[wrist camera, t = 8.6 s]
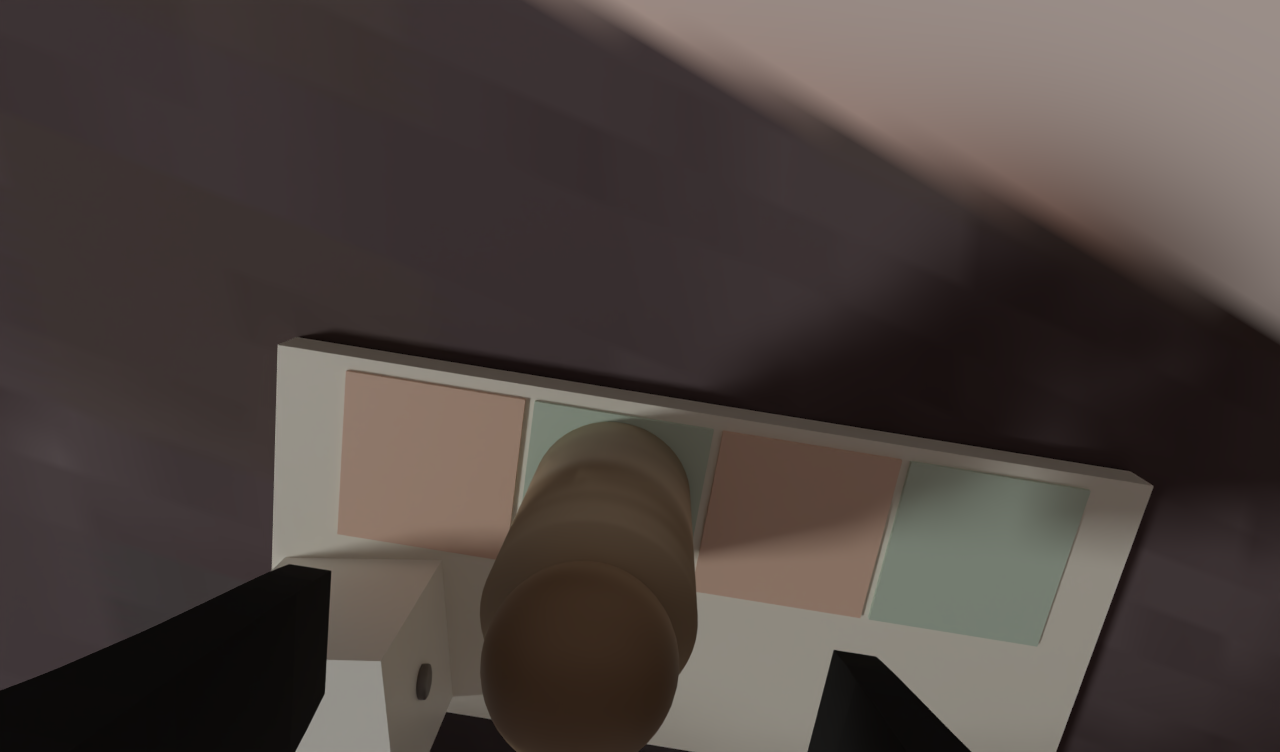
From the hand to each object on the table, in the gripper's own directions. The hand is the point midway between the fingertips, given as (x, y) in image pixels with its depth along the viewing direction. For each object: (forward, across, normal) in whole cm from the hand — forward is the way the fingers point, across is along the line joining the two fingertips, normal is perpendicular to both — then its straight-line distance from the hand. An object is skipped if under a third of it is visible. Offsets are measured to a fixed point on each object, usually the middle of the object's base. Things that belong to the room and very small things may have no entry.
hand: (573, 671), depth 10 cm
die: (+6, +5, +4) cm, 9 cm away
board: (+7, -2, +2) cm, 7 cm away
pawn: (+6, 0, 0) cm, 6 cm away
